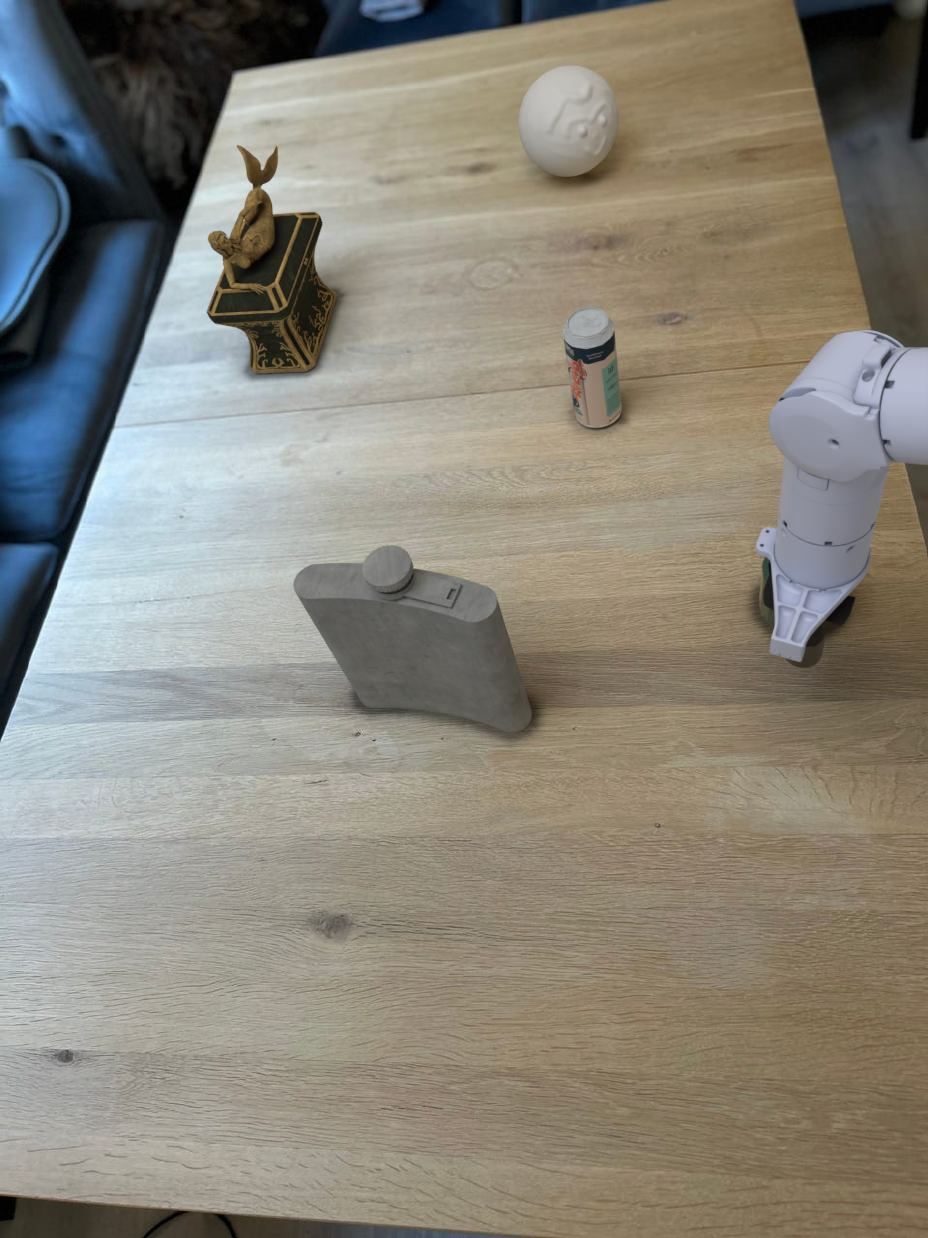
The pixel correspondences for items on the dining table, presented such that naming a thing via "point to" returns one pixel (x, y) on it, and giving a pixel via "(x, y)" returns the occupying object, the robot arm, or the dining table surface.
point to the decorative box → (272, 280)
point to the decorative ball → (568, 121)
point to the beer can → (593, 367)
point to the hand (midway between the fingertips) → (807, 626)
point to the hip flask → (417, 638)
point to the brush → (809, 656)
